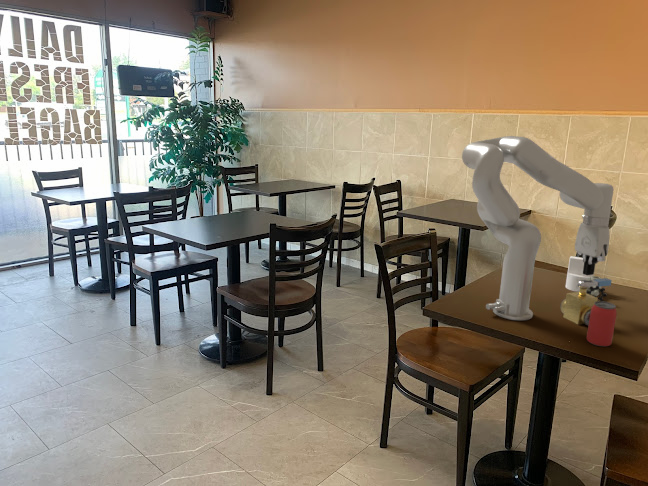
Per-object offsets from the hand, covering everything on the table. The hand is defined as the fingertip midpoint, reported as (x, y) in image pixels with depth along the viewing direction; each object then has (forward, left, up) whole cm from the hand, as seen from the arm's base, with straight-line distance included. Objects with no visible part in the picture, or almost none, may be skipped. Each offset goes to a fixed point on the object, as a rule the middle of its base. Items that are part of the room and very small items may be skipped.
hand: (588, 274), depth 172 cm
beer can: (-15, -22, -13) cm, 30 cm away
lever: (-4, -6, -2) cm, 8 cm away
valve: (+15, +9, -13) cm, 22 cm away
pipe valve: (-8, -6, -13) cm, 17 cm away
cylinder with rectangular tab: (+16, +19, -13) cm, 28 cm away
